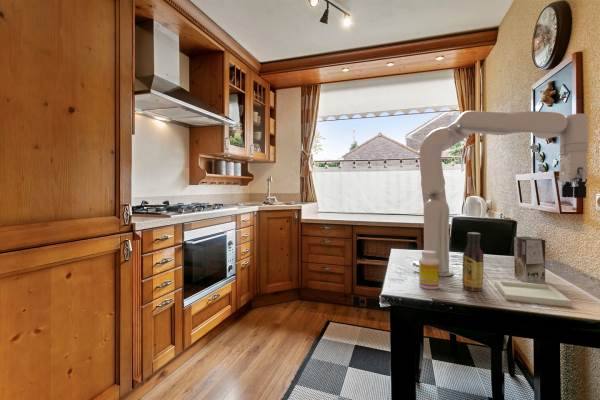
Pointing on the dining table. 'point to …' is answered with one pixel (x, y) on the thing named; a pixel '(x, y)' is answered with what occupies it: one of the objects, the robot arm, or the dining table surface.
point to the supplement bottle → (429, 270)
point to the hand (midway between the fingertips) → (573, 197)
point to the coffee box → (529, 259)
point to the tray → (531, 293)
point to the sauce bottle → (473, 263)
